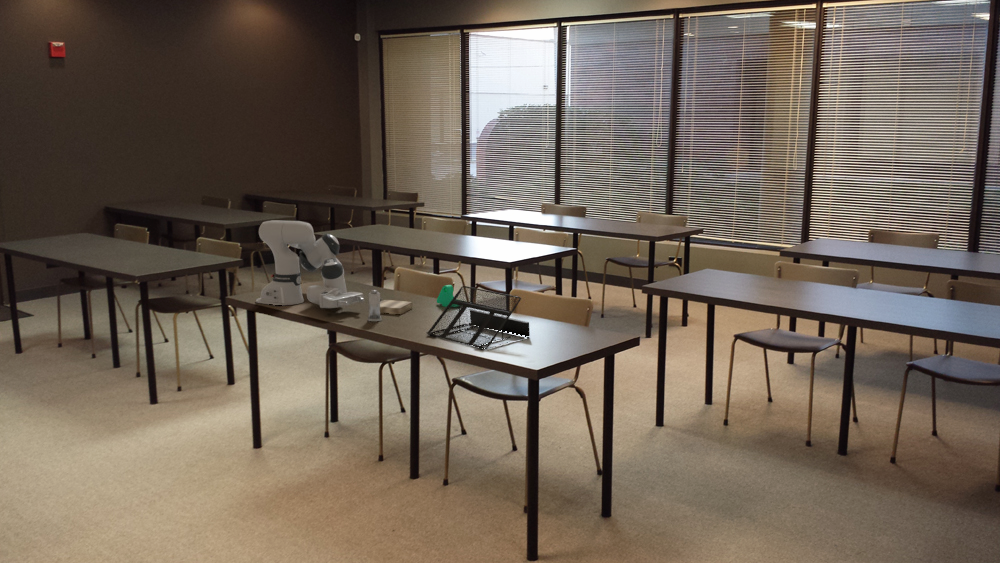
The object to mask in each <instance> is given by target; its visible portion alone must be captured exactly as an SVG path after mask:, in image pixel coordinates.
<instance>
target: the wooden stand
mask: <svg viewBox="0 0 1000 563" xmlns="http://www.w3.org/2000/svg"><path fill="white" fill-rule="evenodd" d="M412 309H413V302H412V301H406V300H405V301H403V300H393V299H384V300H381V302H380V314H384V313H389V314H388V315H395V314H400V315H403V314H404V313H407V312H409V311H410V310H412Z"/></svg>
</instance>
